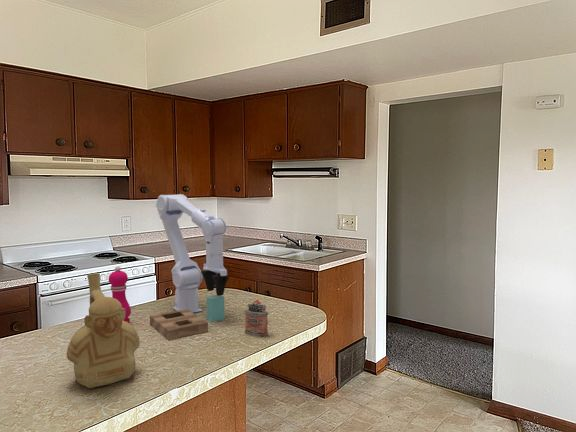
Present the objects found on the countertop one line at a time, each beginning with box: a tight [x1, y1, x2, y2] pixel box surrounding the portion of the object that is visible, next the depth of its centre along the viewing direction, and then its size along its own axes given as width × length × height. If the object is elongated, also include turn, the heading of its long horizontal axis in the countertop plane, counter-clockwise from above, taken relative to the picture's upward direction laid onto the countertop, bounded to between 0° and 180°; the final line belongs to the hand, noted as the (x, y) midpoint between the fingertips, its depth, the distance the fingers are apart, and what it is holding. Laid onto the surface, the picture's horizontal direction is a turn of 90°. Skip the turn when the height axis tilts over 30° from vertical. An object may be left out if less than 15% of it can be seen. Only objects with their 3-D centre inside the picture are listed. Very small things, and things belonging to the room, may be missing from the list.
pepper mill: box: [108, 266, 132, 324], centre depth 150 cm, size 7×7×20 cm
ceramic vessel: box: [65, 272, 140, 389], centre depth 111 cm, size 17×20×25 cm
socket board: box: [149, 309, 209, 341], centre depth 148 cm, size 18×13×3 cm
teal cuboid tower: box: [206, 294, 226, 323], centre depth 156 cm, size 4×5×8 cm
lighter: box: [244, 302, 269, 338], centre depth 141 cm, size 8×3×10 cm, turn 62°
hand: (215, 292), depth 156 cm, fingers open, 7 cm apart
